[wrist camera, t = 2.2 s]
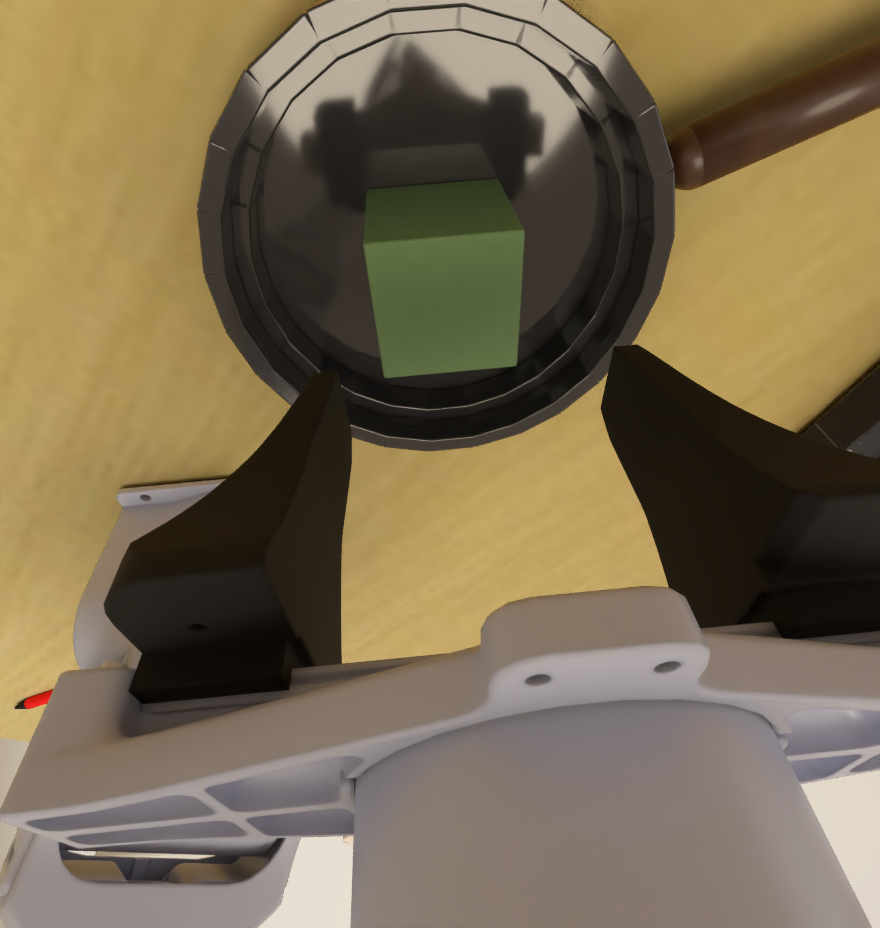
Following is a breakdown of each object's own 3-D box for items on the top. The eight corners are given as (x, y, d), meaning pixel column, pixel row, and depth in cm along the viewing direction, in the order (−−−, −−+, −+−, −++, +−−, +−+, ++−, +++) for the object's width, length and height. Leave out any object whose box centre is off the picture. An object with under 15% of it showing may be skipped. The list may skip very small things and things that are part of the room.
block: (383, 310, 21) (383, 379, 18) (366, 188, 18) (362, 243, 15) (495, 300, 21) (517, 367, 18) (498, 177, 18) (525, 229, 15)
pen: (200, 646, 40) (197, 660, 39) (22, 704, 45) (15, 717, 44) (192, 642, 39) (188, 656, 39) (12, 700, 44) (5, 714, 43)
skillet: (286, 420, 25) (277, 466, 23) (140, -11, 14) (93, -4, 12) (602, 390, 25) (624, 433, 23) (693, -54, 15) (750, -56, 12)
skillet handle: (655, 189, 18) (676, 208, 17) (648, 133, 17) (670, 149, 15) (1064, 7, 15) (1126, 12, 14) (1091, -75, 14) (1163, -77, 13)
